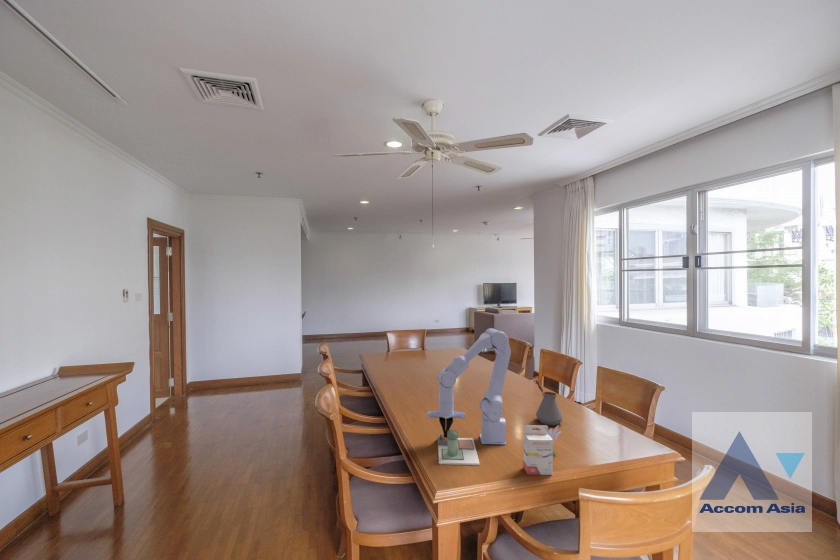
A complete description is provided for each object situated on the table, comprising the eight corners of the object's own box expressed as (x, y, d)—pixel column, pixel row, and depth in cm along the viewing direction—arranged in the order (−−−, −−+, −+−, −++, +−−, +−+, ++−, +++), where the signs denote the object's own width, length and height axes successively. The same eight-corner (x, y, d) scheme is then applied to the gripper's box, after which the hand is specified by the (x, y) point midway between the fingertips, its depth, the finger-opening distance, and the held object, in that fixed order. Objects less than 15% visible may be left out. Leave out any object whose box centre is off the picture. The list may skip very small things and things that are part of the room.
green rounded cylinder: (457, 451, 134) (457, 429, 134) (458, 456, 130) (458, 434, 130) (446, 451, 134) (446, 429, 134) (447, 456, 130) (447, 434, 130)
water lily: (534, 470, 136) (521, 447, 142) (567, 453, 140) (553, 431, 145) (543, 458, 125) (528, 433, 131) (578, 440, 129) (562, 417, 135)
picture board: (472, 439, 146) (473, 433, 146) (479, 465, 126) (479, 458, 126) (437, 438, 146) (437, 432, 146) (438, 464, 126) (439, 457, 126)
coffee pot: (567, 427, 160) (567, 392, 160) (542, 427, 159) (542, 393, 159) (546, 409, 181) (546, 379, 181) (524, 410, 180) (524, 379, 180)
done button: (450, 439, 144) (450, 434, 144) (450, 443, 140) (450, 438, 140) (441, 439, 144) (441, 434, 144) (441, 443, 141) (441, 438, 141)
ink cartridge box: (527, 475, 120) (528, 430, 120) (522, 467, 125) (523, 424, 125) (553, 475, 120) (553, 430, 120) (547, 467, 125) (548, 424, 125)
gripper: (427, 404, 138) (426, 440, 139) (465, 405, 138) (465, 441, 138) (427, 398, 146) (427, 432, 146) (464, 399, 145) (463, 433, 145)
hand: (445, 436), depth 142 cm, fingers closed, pressing on done button
